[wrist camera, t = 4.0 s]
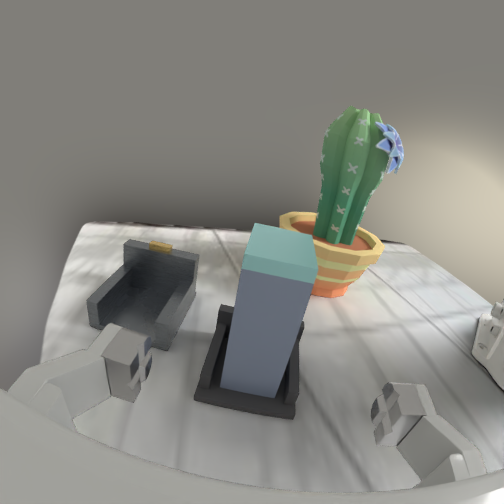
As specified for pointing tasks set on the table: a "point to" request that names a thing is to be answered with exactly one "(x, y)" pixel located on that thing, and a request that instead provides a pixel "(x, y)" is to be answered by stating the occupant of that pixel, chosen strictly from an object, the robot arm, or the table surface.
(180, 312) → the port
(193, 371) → the table surface
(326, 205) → the potted cactus
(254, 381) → the plug
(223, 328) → the dark grey open tray
